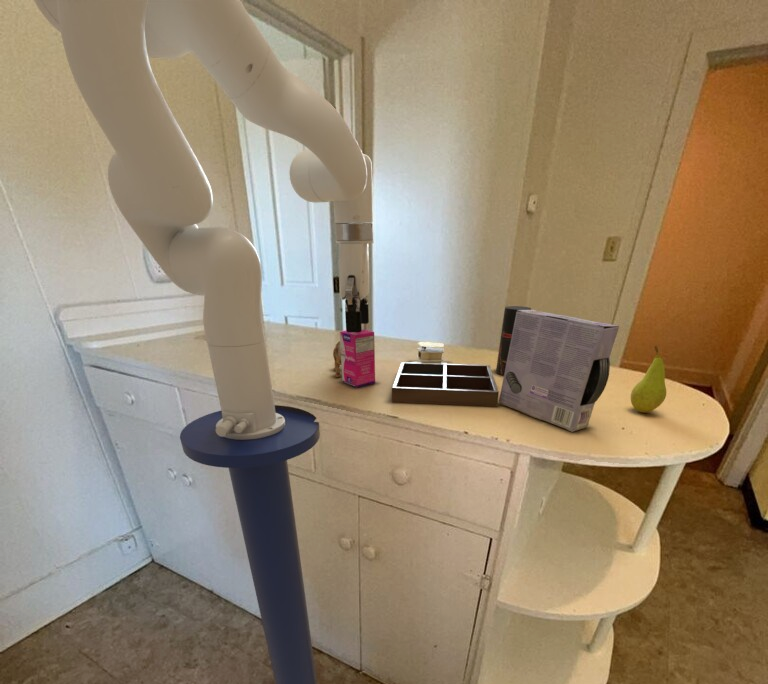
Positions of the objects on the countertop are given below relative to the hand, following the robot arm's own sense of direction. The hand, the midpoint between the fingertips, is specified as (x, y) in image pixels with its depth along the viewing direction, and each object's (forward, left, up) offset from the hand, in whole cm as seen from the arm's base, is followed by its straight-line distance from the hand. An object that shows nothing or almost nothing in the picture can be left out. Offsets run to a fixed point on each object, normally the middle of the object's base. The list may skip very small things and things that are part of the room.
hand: (358, 327), depth 94 cm
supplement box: (0, 0, -12) cm, 12 cm away
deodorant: (+14, -36, -12) cm, 40 cm away
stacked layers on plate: (+18, -16, -12) cm, 27 cm away
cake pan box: (-17, -39, -12) cm, 44 cm away
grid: (-2, -20, -12) cm, 23 cm away
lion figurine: (+8, +5, -12) cm, 16 cm away
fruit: (-12, -59, -12) cm, 61 cm away
